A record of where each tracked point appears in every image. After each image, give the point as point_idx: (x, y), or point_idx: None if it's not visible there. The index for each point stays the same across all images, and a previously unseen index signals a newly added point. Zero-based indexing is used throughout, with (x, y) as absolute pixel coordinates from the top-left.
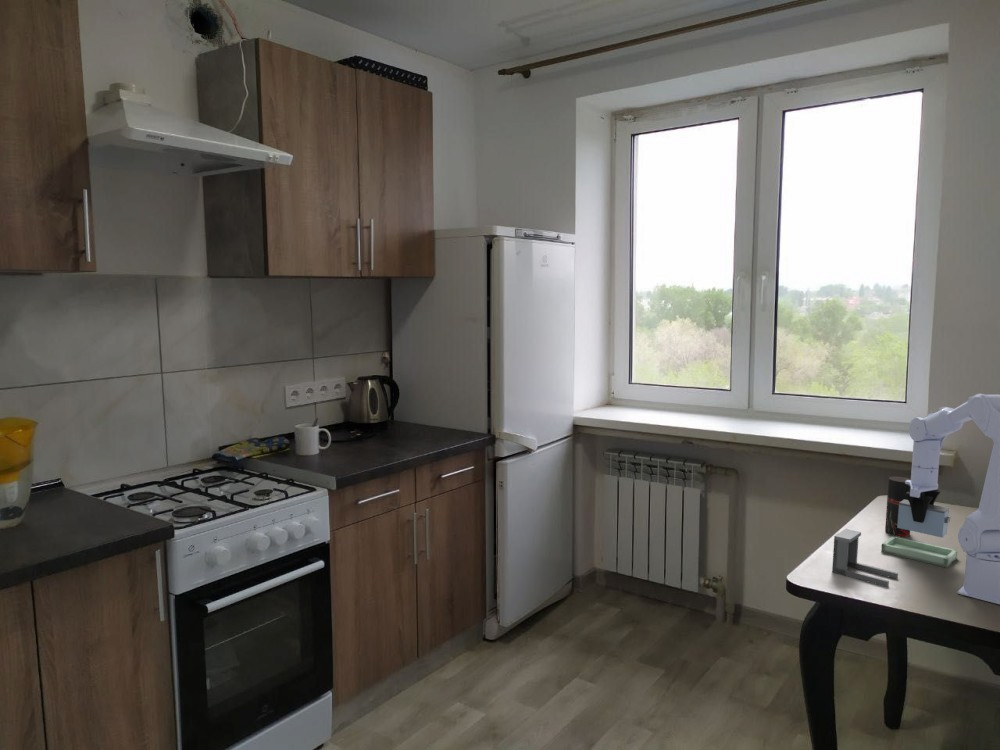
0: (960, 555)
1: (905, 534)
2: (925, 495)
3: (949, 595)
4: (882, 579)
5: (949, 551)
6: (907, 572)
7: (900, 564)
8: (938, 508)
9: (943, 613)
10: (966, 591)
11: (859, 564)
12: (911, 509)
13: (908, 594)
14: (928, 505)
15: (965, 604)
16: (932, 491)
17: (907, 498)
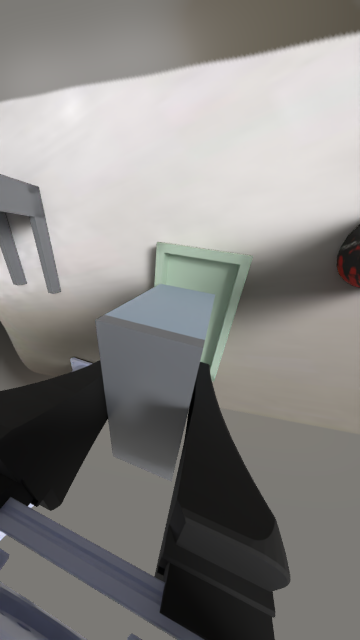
0: (237, 377)
1: (348, 279)
2: (174, 492)
3: (63, 348)
4: (13, 275)
5: (210, 368)
6: (93, 302)
7: (119, 289)
8: (137, 452)
9: (19, 340)
10: (78, 366)
11: (31, 224)
12: (93, 363)
13: (27, 308)
14: (94, 438)
15: (55, 360)
16: (156, 571)
17: (3, 391)
